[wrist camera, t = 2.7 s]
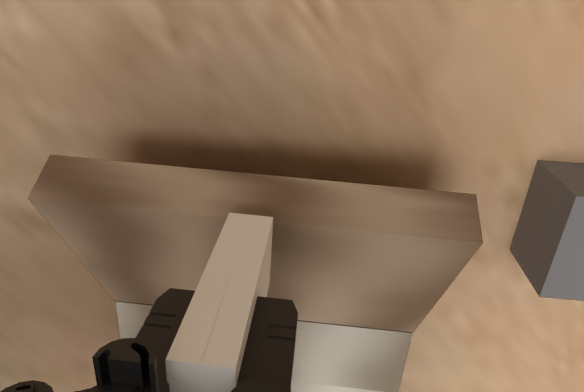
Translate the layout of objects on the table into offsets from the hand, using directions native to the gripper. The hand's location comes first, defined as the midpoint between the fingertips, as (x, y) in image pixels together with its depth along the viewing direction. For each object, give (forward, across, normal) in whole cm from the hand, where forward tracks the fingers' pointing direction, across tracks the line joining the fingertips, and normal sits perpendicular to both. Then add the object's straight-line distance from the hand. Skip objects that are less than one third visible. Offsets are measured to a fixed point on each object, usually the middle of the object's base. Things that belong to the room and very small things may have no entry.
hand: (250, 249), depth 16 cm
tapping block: (+8, +15, -1) cm, 17 cm away
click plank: (+5, 0, -2) cm, 5 cm away
